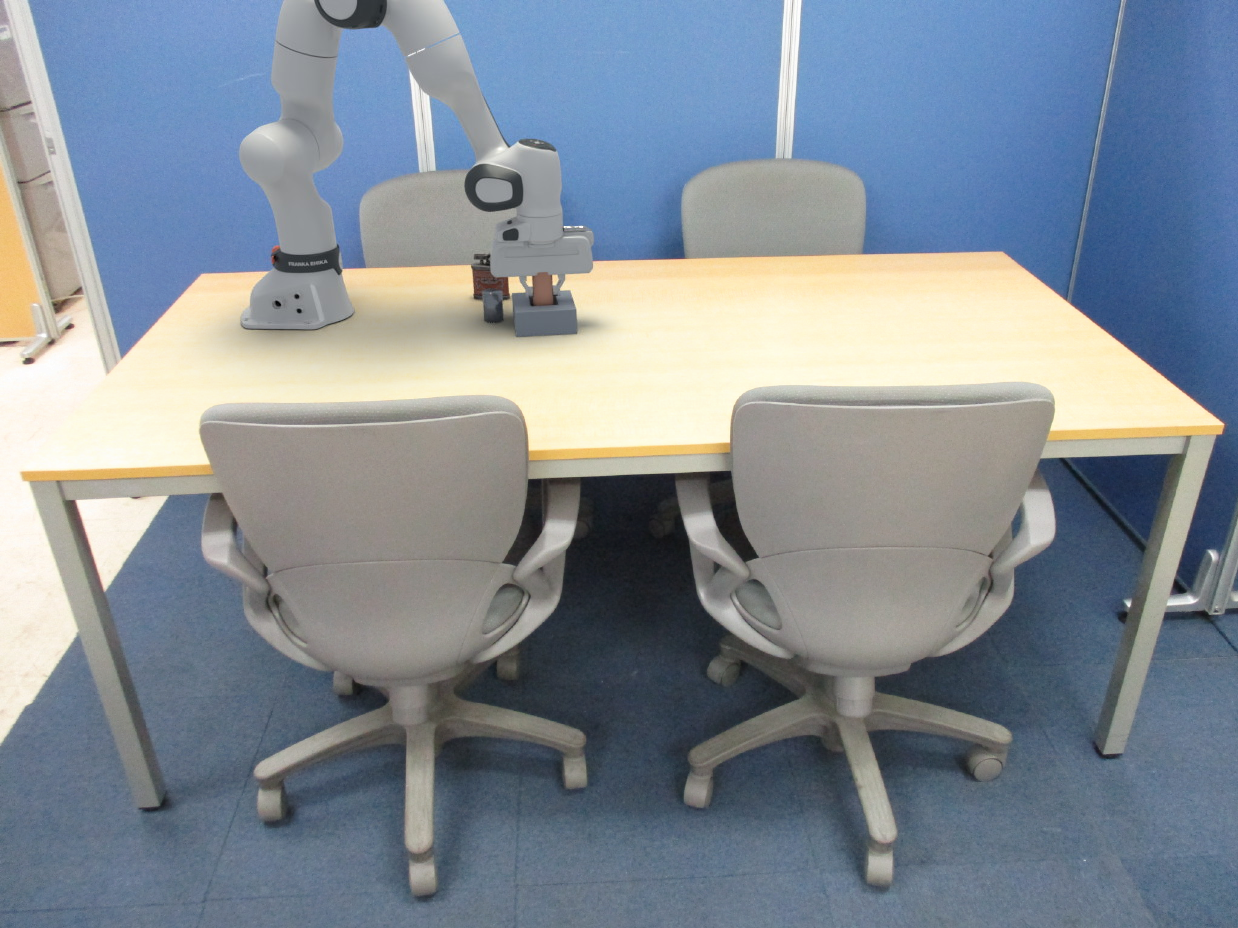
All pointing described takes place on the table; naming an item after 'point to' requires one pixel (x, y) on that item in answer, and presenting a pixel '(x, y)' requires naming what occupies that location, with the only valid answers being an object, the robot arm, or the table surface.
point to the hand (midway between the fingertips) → (542, 296)
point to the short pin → (493, 305)
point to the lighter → (487, 278)
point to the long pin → (542, 289)
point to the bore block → (544, 315)
